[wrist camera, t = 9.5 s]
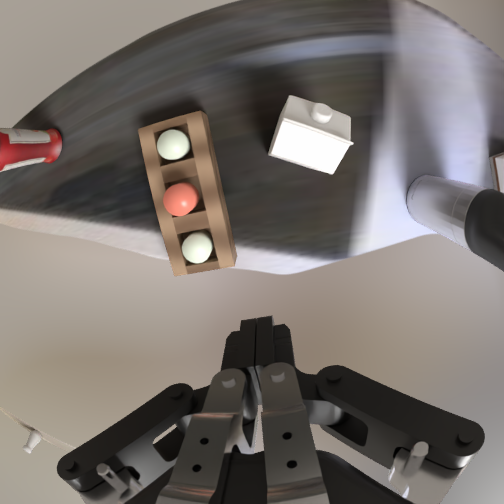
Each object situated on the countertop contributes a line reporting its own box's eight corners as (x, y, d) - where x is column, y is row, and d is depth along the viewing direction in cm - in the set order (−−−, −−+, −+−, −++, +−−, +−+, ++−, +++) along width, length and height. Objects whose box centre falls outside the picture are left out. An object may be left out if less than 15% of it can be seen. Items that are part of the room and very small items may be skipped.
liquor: (38, 158, 44) (-70, 179, 17) (47, 124, 42) (-64, 128, 15) (61, 168, 45) (-54, 194, 18) (71, 131, 42) (-47, 136, 16)
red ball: (167, 185, 41) (160, 188, 37) (195, 179, 40) (189, 181, 37) (174, 214, 42) (167, 219, 39) (202, 207, 42) (197, 212, 38)
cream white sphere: (184, 232, 46) (178, 238, 42) (210, 227, 45) (206, 232, 42) (191, 257, 47) (186, 265, 44) (216, 253, 47) (213, 260, 43)
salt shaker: (42, 433, 79) (30, 453, 67) (43, 438, 81) (32, 457, 68) (32, 426, 78) (20, 445, 66) (33, 431, 80) (22, 449, 68)
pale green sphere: (162, 135, 41) (154, 134, 37) (188, 128, 40) (182, 126, 37) (167, 162, 42) (160, 162, 39) (194, 155, 42) (188, 155, 38)
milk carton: (309, 168, 44) (342, 177, 26) (267, 154, 44) (272, 153, 26) (322, 127, 42) (362, 111, 24) (280, 113, 42) (294, 85, 24)
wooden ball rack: (149, 131, 43) (138, 129, 38) (207, 115, 42) (200, 110, 37) (182, 265, 50) (174, 276, 45) (237, 255, 49) (234, 266, 45)
